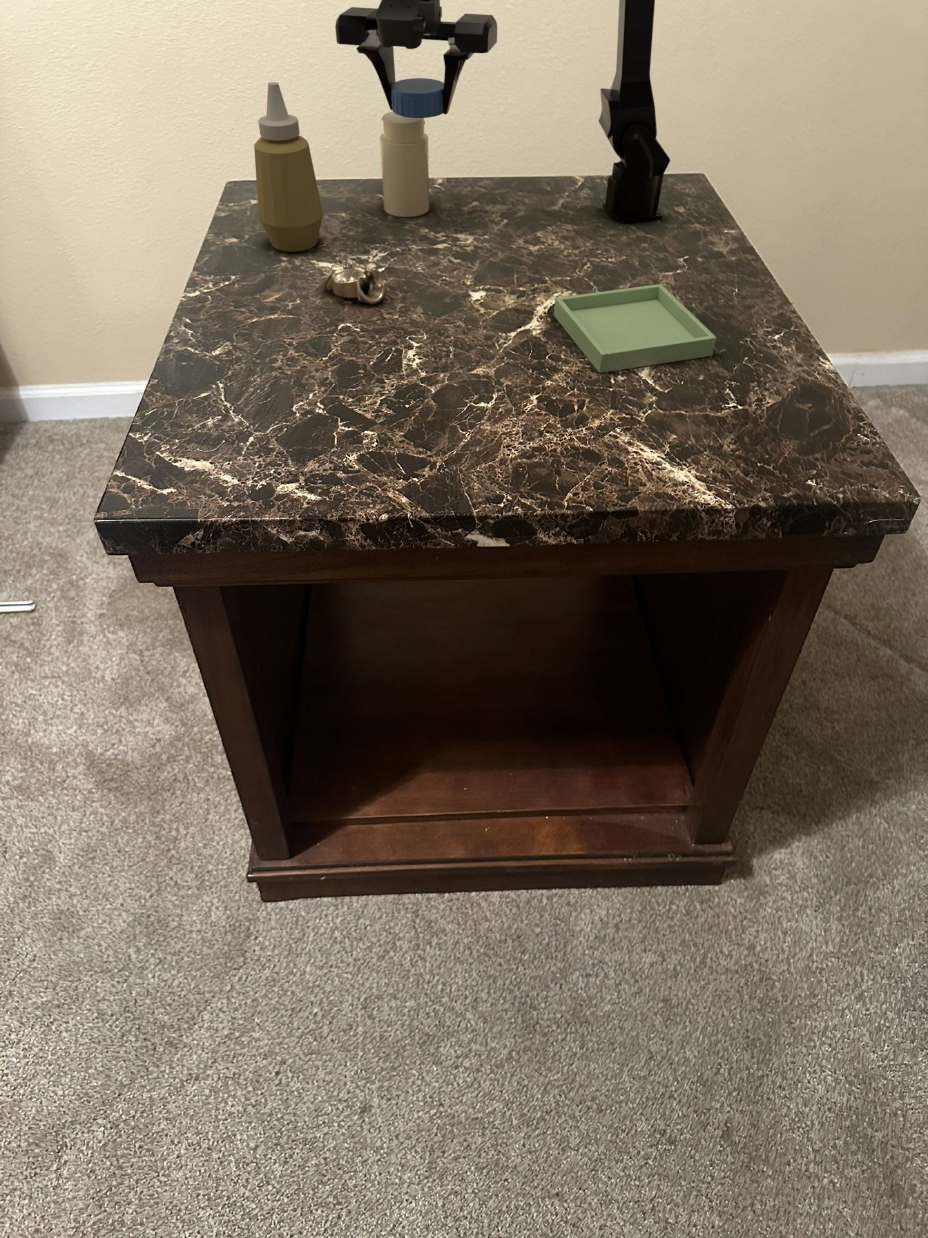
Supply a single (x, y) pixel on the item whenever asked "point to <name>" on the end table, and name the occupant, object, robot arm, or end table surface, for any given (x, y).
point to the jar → (404, 165)
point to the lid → (417, 97)
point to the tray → (633, 328)
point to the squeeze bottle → (285, 179)
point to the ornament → (355, 281)
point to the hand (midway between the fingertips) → (419, 111)
